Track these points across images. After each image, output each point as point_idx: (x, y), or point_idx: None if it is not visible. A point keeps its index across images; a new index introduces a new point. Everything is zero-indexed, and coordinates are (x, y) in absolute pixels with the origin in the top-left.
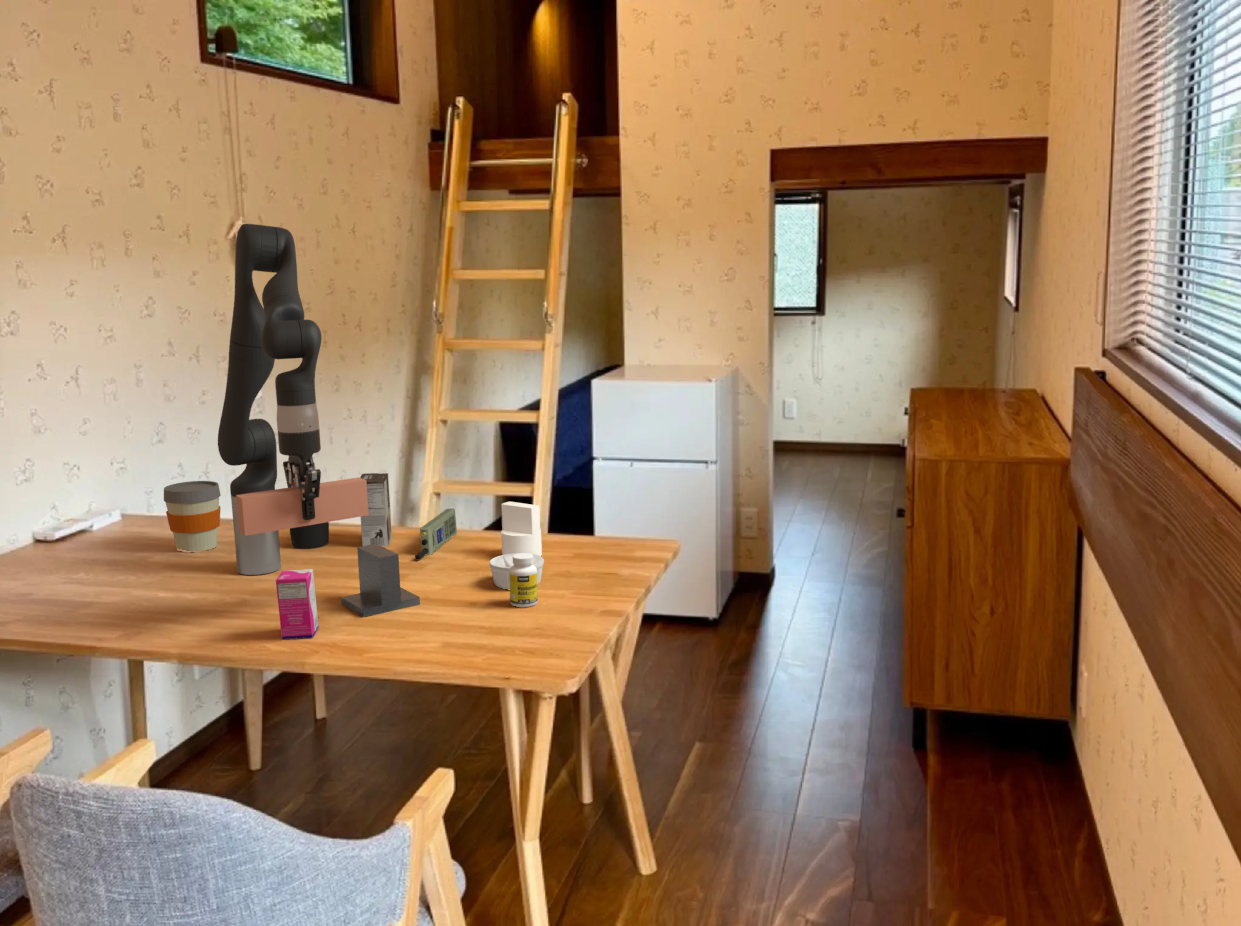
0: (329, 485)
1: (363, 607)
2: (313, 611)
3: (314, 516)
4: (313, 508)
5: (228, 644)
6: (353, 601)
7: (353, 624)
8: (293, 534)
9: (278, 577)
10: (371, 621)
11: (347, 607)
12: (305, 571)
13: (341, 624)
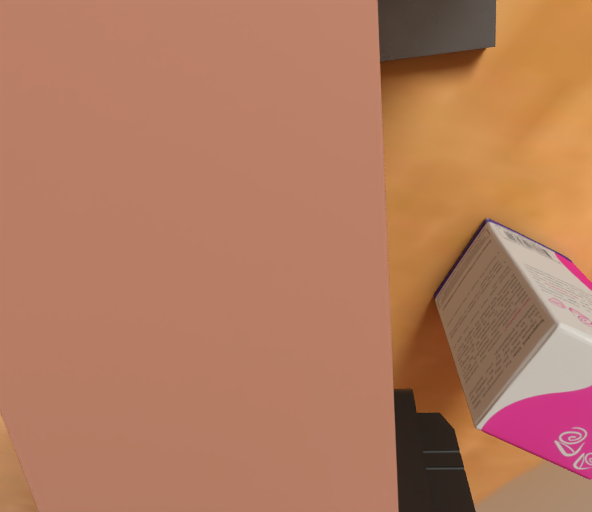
0: (385, 448)
1: (469, 34)
2: (570, 276)
3: (411, 398)
4: (465, 477)
5: None
6: None
7: (537, 105)
8: None
9: (569, 466)
10: (554, 32)
11: None
12: (581, 363)
13: (506, 142)
